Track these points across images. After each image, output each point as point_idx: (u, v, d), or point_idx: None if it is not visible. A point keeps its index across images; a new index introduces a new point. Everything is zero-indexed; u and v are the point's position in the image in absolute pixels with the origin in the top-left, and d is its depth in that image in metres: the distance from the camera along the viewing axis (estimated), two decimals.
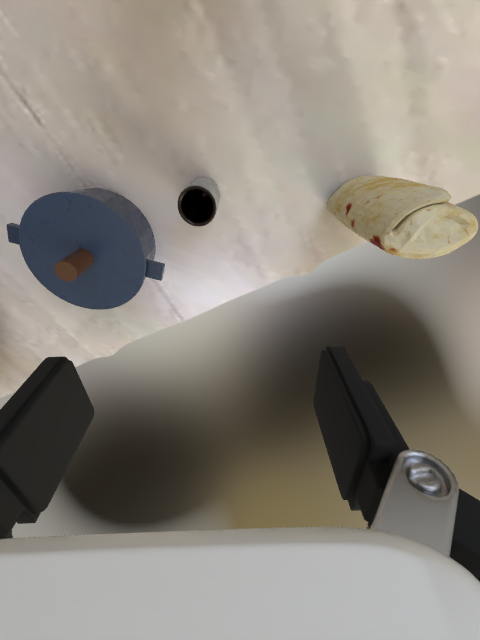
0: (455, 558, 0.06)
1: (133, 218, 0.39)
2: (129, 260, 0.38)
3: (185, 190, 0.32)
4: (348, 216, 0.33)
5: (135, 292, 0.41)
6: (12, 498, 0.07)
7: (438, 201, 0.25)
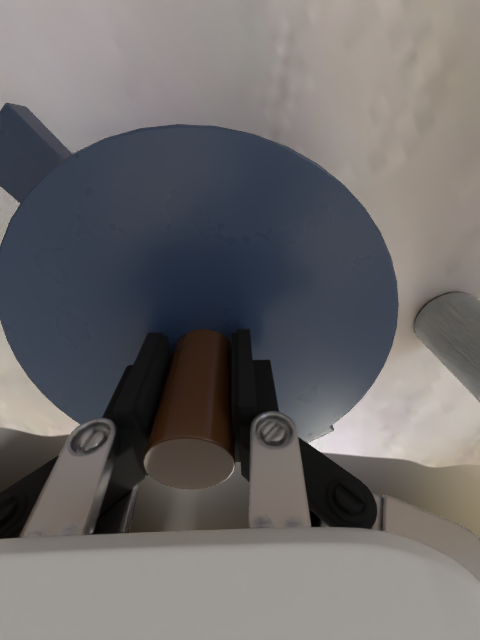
0: None
1: None
2: (302, 410, 0.14)
3: None
4: None
5: None
6: (144, 449, 0.09)
7: None
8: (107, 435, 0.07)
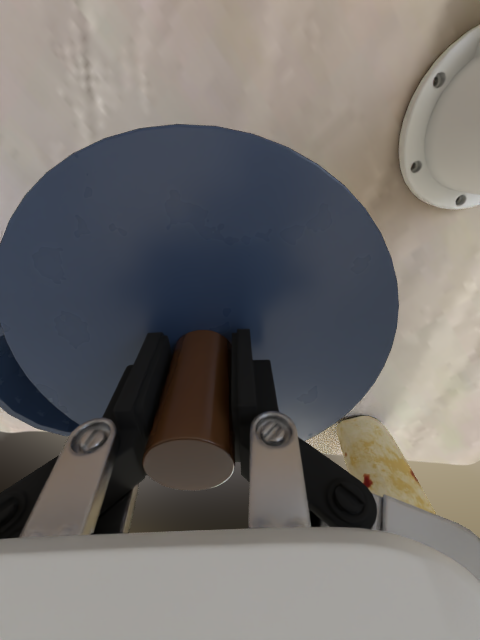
0: None
1: None
2: (302, 410, 0.14)
3: None
4: None
5: None
6: (144, 449, 0.09)
7: None
8: (107, 435, 0.07)
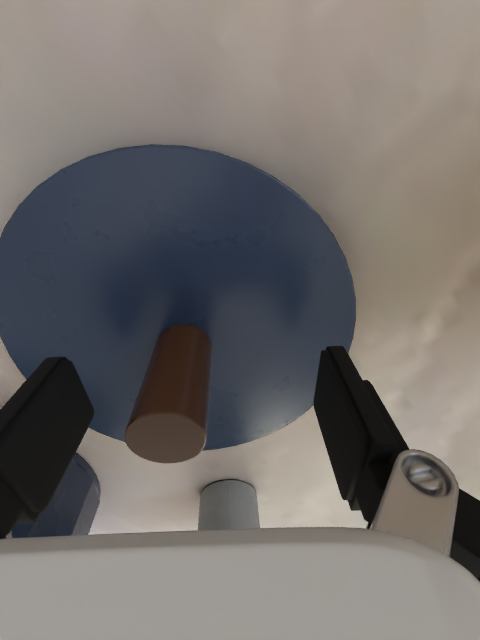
0: (455, 558, 0.06)
1: None
2: (277, 398, 0.15)
3: None
4: None
5: (226, 445, 0.17)
6: (12, 498, 0.07)
7: None
8: None
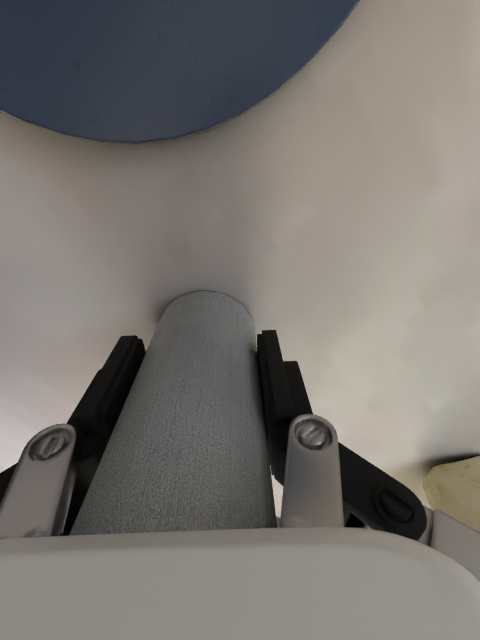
0: None
1: None
2: None
3: None
4: None
5: (189, 125, 0.08)
6: None
7: None
8: (68, 441, 0.07)
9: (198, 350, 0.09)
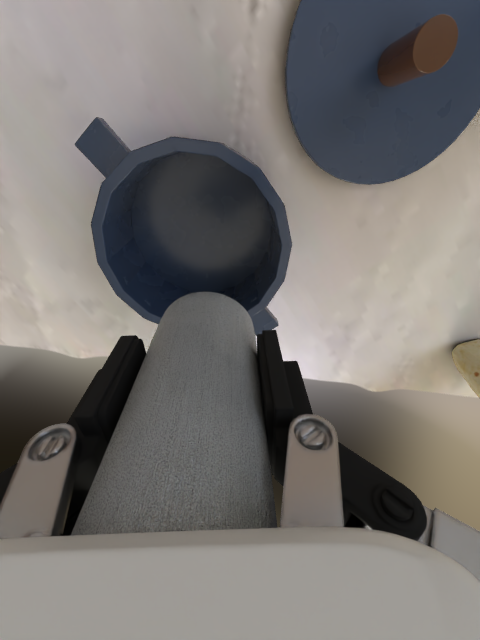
0: None
1: None
2: (437, 125, 0.23)
3: None
4: None
5: (389, 179, 0.25)
6: None
7: None
8: (68, 442, 0.07)
9: (198, 351, 0.09)
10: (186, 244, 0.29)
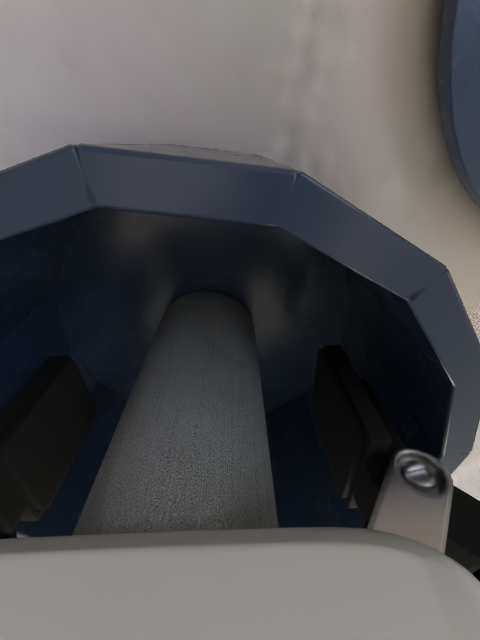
0: (449, 554, 0.06)
1: None
2: None
3: None
4: None
5: None
6: (17, 495, 0.08)
7: None
8: None
9: (199, 349, 0.09)
10: None
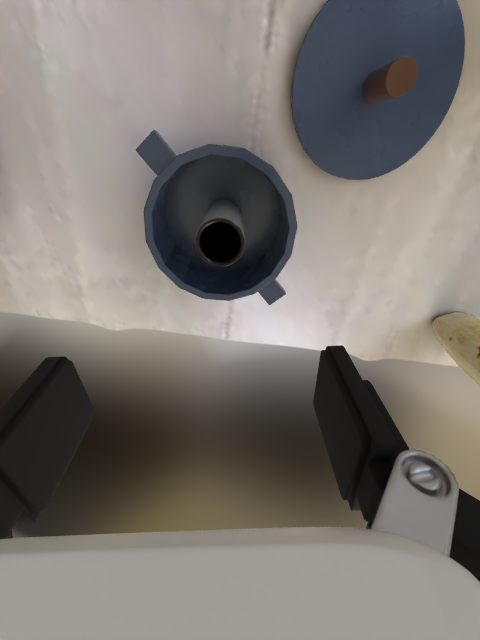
0: (455, 558, 0.06)
1: None
2: (410, 133, 0.29)
3: (219, 219, 0.24)
4: None
5: (374, 175, 0.31)
6: (12, 498, 0.07)
7: None
8: None
9: (223, 205, 0.29)
10: None
